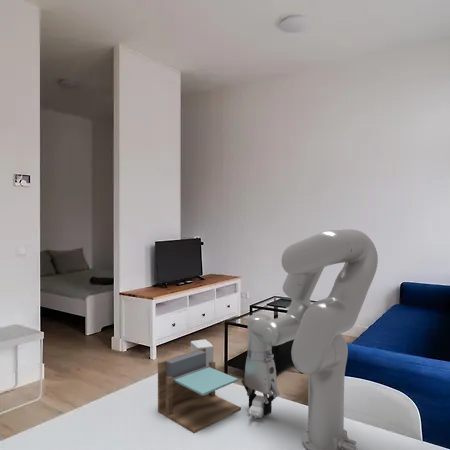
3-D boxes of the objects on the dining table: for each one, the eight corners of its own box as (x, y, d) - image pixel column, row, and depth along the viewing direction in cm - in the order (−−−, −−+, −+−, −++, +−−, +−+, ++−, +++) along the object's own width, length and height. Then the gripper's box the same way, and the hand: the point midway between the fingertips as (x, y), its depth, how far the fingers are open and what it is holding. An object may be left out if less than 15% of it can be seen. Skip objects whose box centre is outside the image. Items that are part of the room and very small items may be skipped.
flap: (239, 382, 128) (239, 363, 128) (201, 398, 117) (201, 378, 117) (201, 366, 141) (201, 349, 141) (163, 379, 130) (163, 361, 130)
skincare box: (189, 381, 153) (189, 340, 153) (205, 378, 156) (205, 338, 155) (197, 390, 145) (197, 347, 145) (214, 386, 148) (214, 345, 148)
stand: (240, 409, 131) (241, 361, 130) (194, 433, 117) (194, 378, 116) (204, 392, 143) (204, 348, 143) (157, 411, 129) (157, 362, 129)
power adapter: (258, 427, 120) (258, 411, 120) (245, 424, 122) (245, 408, 121) (267, 411, 129) (267, 396, 129) (254, 408, 131) (255, 393, 130)
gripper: (288, 357, 124) (289, 416, 124) (247, 345, 136) (247, 398, 136) (273, 363, 119) (274, 424, 119) (232, 350, 131) (232, 406, 131)
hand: (260, 410), depth 128 cm, fingers closed on power adapter, 5 cm apart
